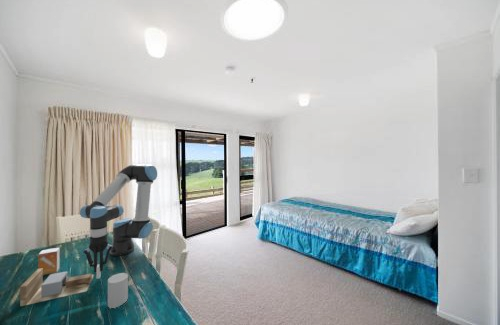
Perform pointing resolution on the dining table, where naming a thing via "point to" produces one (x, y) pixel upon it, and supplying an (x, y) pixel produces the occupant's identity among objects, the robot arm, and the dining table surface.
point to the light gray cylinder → (117, 290)
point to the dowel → (78, 280)
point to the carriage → (54, 284)
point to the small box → (49, 260)
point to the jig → (32, 289)
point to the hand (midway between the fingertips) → (98, 277)
